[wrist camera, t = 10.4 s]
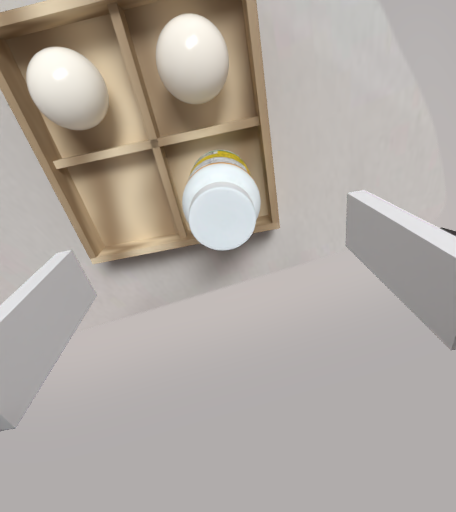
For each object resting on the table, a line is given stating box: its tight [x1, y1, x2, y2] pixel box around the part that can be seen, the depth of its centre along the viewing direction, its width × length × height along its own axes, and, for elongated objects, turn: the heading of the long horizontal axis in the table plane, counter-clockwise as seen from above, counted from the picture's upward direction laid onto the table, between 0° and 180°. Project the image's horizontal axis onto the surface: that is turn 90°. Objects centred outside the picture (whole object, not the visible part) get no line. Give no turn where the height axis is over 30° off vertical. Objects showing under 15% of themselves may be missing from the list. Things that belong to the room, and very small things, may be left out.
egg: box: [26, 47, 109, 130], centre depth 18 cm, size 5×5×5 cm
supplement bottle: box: [182, 150, 261, 251], centre depth 19 cm, size 5×5×10 cm
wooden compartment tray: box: [0, 0, 280, 264], centre depth 21 cm, size 18×18×3 cm
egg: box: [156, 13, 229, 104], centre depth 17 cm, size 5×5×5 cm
